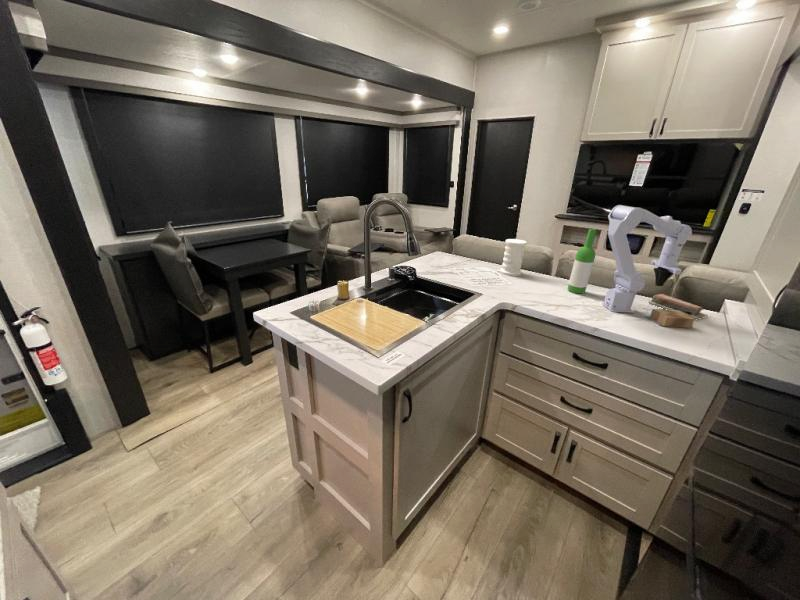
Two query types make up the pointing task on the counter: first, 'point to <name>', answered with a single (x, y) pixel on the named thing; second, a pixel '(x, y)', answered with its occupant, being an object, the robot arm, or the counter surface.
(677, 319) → the brown box
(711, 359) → the counter surface
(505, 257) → the decorative container
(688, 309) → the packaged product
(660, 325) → the rubber mat
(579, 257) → the wine bottle
